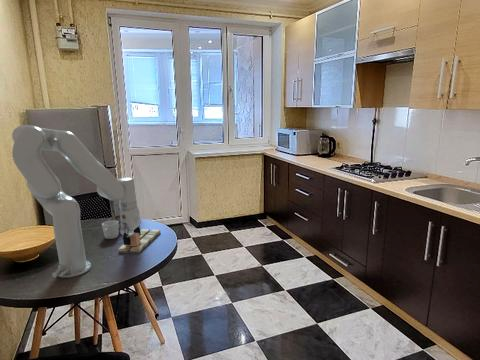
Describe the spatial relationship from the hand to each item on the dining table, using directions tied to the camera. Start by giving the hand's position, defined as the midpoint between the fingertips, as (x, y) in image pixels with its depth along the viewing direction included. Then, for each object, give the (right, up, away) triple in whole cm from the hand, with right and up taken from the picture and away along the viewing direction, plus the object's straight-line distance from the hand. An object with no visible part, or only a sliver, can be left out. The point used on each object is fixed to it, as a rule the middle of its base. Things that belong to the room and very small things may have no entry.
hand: (132, 240), depth 146 cm
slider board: (+1, -3, +8) cm, 9 cm away
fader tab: (0, -3, +1) cm, 3 cm away
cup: (-16, -2, +14) cm, 22 cm away
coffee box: (-18, +2, +32) cm, 37 cm away
